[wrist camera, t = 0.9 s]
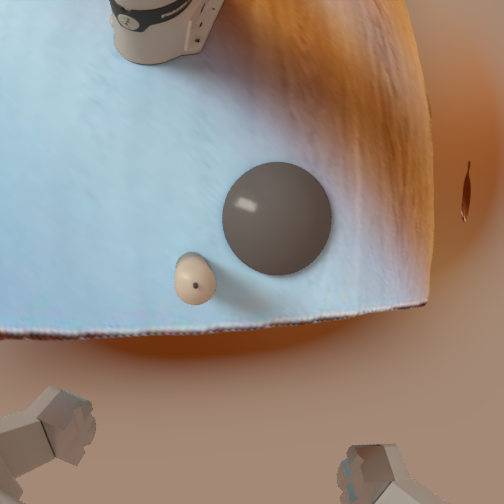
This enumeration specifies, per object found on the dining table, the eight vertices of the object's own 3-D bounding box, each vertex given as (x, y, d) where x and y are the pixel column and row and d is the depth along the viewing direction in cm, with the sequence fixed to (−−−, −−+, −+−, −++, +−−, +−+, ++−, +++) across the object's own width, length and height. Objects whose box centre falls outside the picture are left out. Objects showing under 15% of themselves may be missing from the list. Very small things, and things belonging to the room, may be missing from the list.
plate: (253, 143, 49) (255, 141, 48) (344, 196, 54) (347, 196, 52) (202, 244, 49) (203, 245, 48) (299, 290, 54) (302, 292, 52)
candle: (183, 246, 49) (185, 257, 36) (212, 260, 50) (224, 275, 37) (170, 275, 49) (167, 296, 36) (199, 288, 50) (206, 313, 37)
